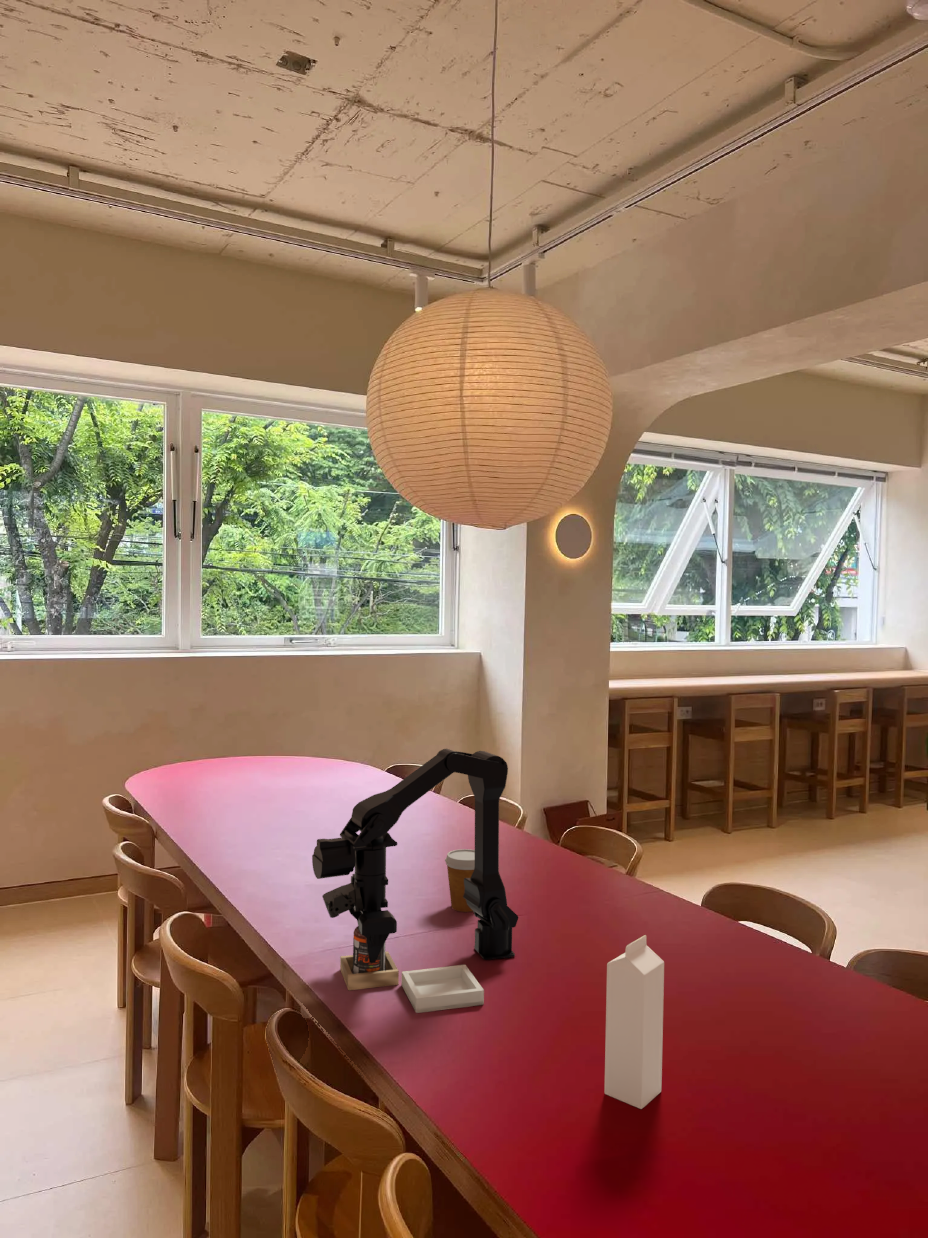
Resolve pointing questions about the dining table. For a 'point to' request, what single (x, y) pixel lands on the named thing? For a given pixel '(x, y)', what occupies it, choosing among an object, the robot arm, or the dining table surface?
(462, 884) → the disposable coffee cup
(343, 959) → the collar
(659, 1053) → the milk
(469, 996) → the tray
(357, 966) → the supplement bottle
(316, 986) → the dining table surface
